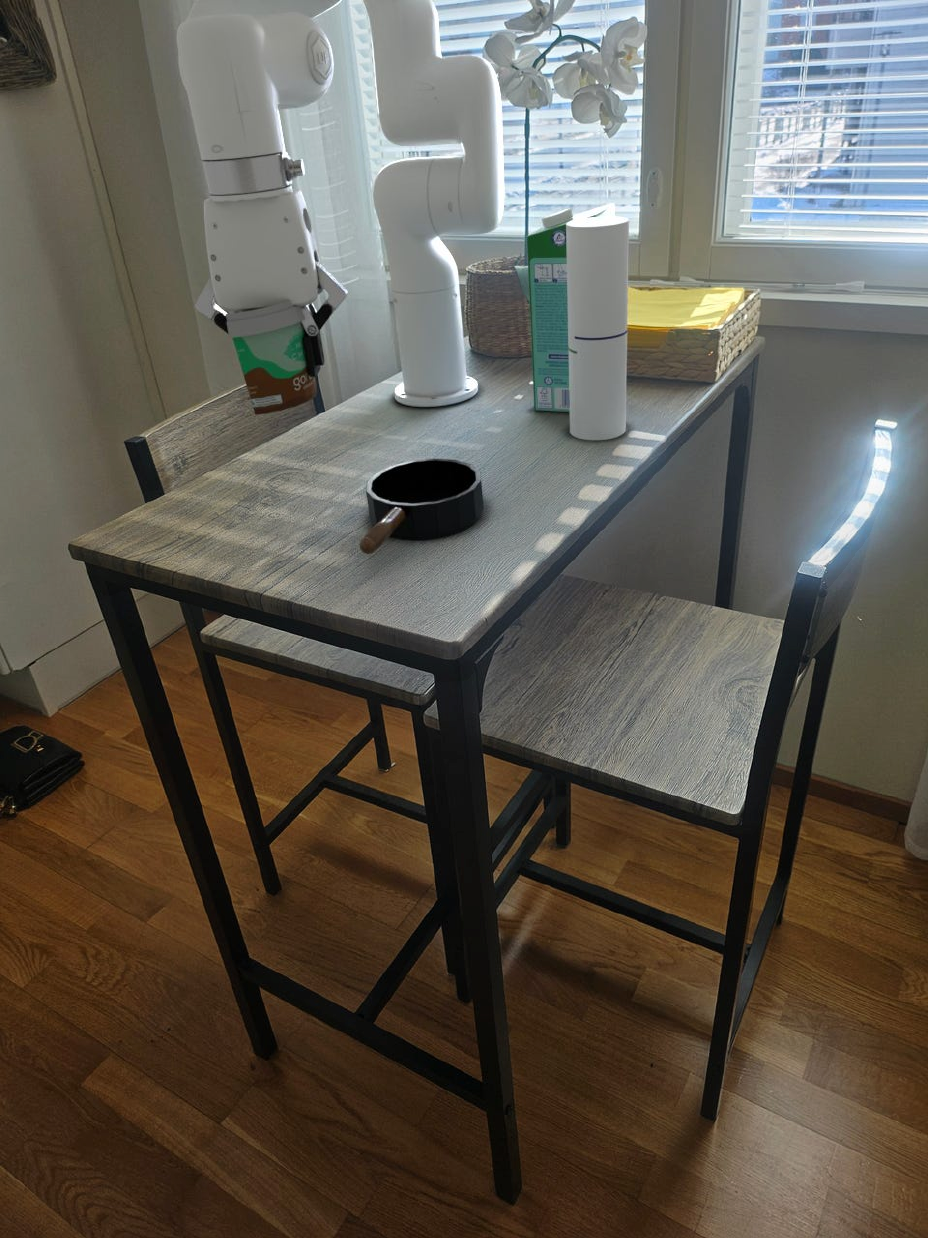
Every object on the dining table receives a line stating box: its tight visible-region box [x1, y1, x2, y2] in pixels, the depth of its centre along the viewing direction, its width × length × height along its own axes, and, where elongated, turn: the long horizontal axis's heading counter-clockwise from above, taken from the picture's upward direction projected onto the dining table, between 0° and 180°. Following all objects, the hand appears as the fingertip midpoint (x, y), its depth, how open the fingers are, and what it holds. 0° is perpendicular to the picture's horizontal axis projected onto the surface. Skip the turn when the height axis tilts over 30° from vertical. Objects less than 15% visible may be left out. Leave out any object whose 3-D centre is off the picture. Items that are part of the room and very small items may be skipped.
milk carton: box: [526, 203, 615, 413], centre depth 118 cm, size 9×9×25 cm
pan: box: [359, 458, 485, 555], centre depth 92 cm, size 21×12×4 cm, turn 159°
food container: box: [226, 300, 318, 416], centre depth 89 cm, size 12×6×10 cm, turn 172°
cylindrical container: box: [566, 215, 630, 441], centre depth 107 cm, size 7×7×25 cm
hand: (285, 373), depth 90 cm, fingers closed on food container, 5 cm apart
